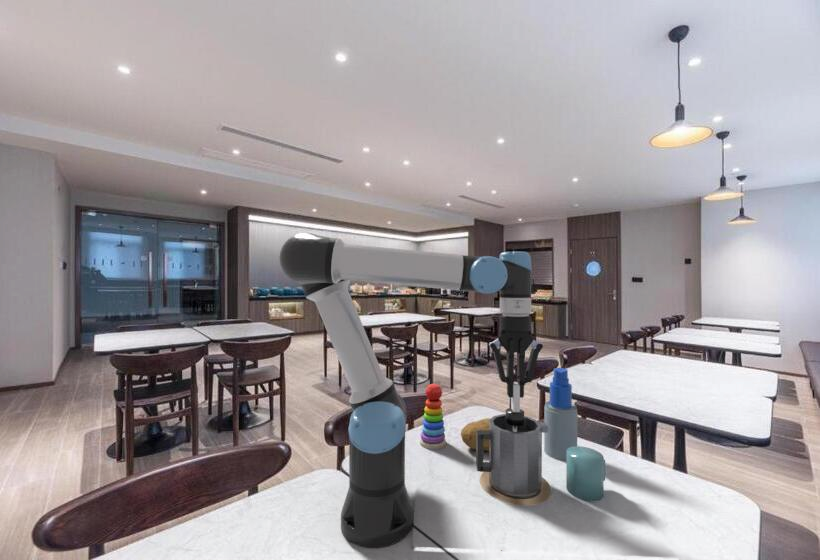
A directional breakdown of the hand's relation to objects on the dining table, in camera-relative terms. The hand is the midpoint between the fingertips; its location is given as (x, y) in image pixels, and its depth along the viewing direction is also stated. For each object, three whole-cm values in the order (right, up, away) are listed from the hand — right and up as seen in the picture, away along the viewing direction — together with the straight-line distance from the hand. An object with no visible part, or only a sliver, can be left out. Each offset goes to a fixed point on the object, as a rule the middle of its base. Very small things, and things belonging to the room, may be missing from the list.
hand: (515, 410), depth 90 cm
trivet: (0, -19, 0) cm, 19 cm away
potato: (-3, -19, +19) cm, 27 cm away
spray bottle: (+18, -19, +16) cm, 31 cm away
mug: (+16, -19, -3) cm, 25 cm away
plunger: (0, -12, 0) cm, 12 cm away
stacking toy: (-19, -19, +22) cm, 35 cm away
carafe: (0, -18, 0) cm, 18 cm away
